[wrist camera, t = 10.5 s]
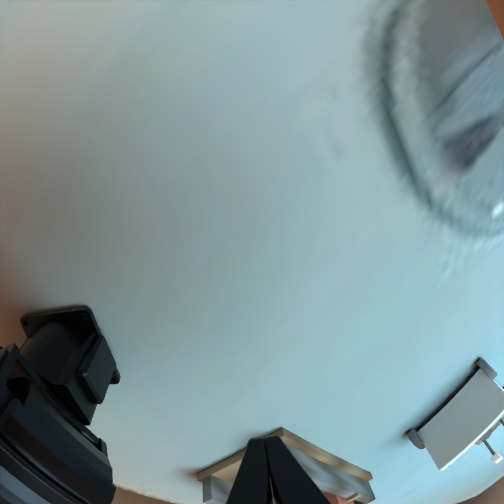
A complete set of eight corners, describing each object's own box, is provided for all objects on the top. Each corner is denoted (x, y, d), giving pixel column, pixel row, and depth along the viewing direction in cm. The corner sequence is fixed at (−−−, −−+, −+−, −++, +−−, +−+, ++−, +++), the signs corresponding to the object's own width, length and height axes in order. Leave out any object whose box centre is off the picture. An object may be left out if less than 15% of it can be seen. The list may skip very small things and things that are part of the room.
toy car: (547, 429, 22) (487, 488, 24) (512, 390, 31) (459, 445, 33) (531, 409, 17) (440, 494, 19) (477, 353, 26) (403, 429, 28)
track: (198, 472, 26) (198, 507, 22) (282, 427, 25) (291, 466, 21) (300, 508, 32) (306, 533, 28) (370, 472, 30) (381, 498, 26)
